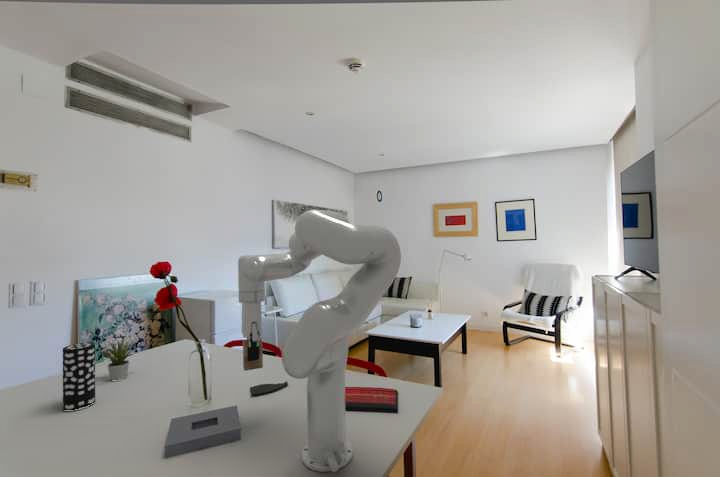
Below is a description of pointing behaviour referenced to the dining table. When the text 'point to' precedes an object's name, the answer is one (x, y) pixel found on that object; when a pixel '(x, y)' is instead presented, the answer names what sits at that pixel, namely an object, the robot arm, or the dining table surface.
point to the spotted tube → (78, 375)
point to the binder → (371, 399)
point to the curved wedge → (266, 389)
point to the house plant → (118, 360)
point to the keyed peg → (256, 363)
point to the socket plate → (202, 431)
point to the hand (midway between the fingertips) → (252, 357)
